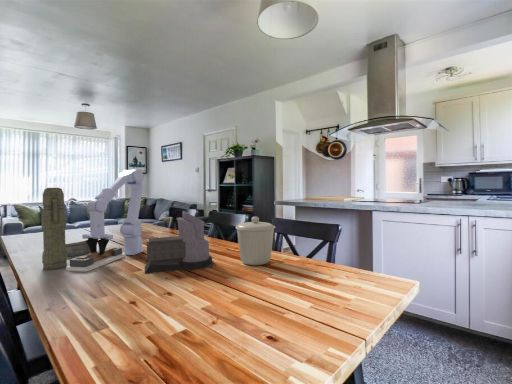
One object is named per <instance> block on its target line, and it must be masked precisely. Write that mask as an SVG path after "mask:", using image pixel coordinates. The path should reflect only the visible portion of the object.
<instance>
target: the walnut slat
mask: <svg viewBox="0 0 512 384" xmlns="http://www.w3.org/2000/svg"><path fill="white" fill-rule="evenodd" d="M116 248H117V247H115V246H113V247H106V249H105V253H104V254H103V255H100V254H99V250H97V252H93V253H90V254H86V255H80V256H77V257H78V259H81V260H84V259H87V258H90V257H93V262H96V261H99V260H102V259H105V258H108V257H110V256H113V250H114V249H116Z"/></svg>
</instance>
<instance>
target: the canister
mask: <svg viewBox="0 0 512 384" xmlns="http://www.w3.org/2000/svg"><path fill="white" fill-rule="evenodd" d="M275 228H276V226H275V225H274V224H272V223H270V222H264V221H260V218H259V216H252V217H251V221H247V222H242V223H240V224H237V225H236V226H235V229H236V233H237V242H238V251H239V256H240V260H241V261H242V263H243V264H245V265H248V266H263V265H266V264H268V263H270V260H271V257H272V252H273V251H272V249H273V242H274V241H273V240H274V231H275Z"/></svg>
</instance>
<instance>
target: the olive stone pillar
mask: <svg viewBox="0 0 512 384" xmlns="http://www.w3.org/2000/svg"><path fill="white" fill-rule="evenodd" d="M64 205H65V194H64V191H63V188H60V187H46V188H44V190H43V192H42V206H43V209H42V214H41V216H40V217H41V220H40V221H41V229H42V235H43V252H42V257H41V259H42V262H41V263H42V265H43V266H42V269H43V270H44V271H52V270H53V271H55V270H60V269H62V268H63V269H64V268H66V267H67V266H68V257H67V250H66V245H65V244H66V227H67V214H66V211H65V206H64Z"/></svg>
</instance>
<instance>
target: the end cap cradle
mask: <svg viewBox="0 0 512 384" xmlns="http://www.w3.org/2000/svg"><path fill="white" fill-rule="evenodd" d="M78 257H79V256H76V257H73V258H71V259H69V265H67V266H66V267H65V271H69V272H70V271H71V272H89V271H91V270H95V269H96V268H99V267H102V266H105V265H107V264H110V263H111V262H115V261H117V260H120V259H123V258H125V257H126V255H125V254H124V253H123V247H116V249H114V250H113V256H110V257H108V258H105V259H102V260H99V261H96V262H93V257H90V258H87V259H84V260H81V259H78Z"/></svg>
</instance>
